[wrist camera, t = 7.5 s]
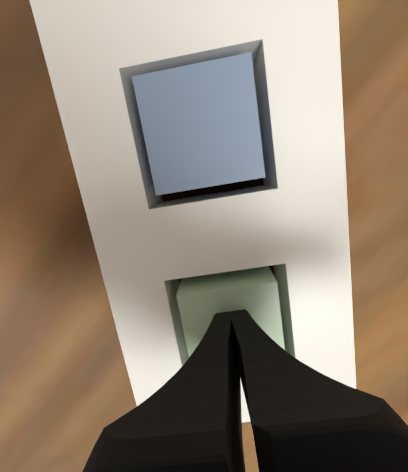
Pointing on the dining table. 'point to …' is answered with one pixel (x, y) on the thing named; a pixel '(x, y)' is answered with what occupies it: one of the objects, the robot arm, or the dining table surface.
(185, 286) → the sage-green button
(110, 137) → the button panel
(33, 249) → the dining table surface
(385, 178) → the dining table surface
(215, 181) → the slate-blue button
